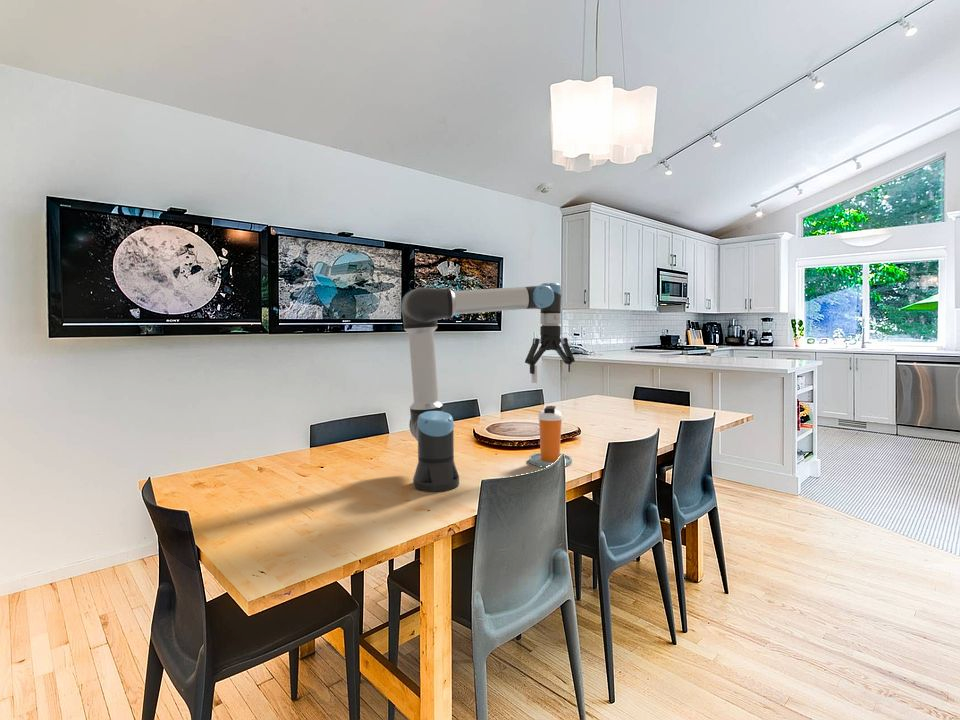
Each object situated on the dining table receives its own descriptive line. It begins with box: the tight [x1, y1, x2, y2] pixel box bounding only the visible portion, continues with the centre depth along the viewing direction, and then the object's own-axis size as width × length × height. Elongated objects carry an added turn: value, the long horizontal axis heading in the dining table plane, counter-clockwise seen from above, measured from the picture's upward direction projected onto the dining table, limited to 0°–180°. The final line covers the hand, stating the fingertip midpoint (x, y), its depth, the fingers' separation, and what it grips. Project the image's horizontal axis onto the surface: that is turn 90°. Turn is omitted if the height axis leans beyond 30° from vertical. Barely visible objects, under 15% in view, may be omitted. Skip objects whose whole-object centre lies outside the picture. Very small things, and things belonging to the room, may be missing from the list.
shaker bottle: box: [538, 405, 563, 462], centre depth 193 cm, size 9×9×20 cm
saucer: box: [528, 452, 573, 468], centre depth 194 cm, size 16×16×2 cm
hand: (550, 381), depth 191 cm, fingers open, 13 cm apart
